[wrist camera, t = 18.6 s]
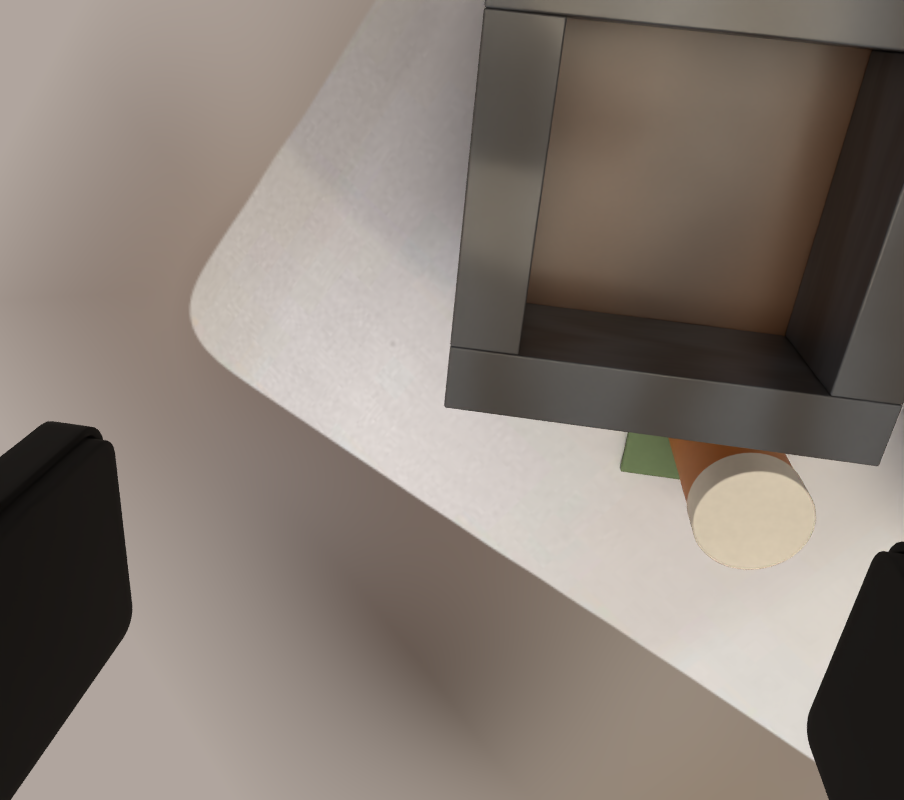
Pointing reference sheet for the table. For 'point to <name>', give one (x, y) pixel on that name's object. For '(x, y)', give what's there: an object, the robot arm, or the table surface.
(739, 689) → the table surface
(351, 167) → the table surface
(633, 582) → the table surface
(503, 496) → the table surface
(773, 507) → the medicine bottle
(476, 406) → the metal storage bin
